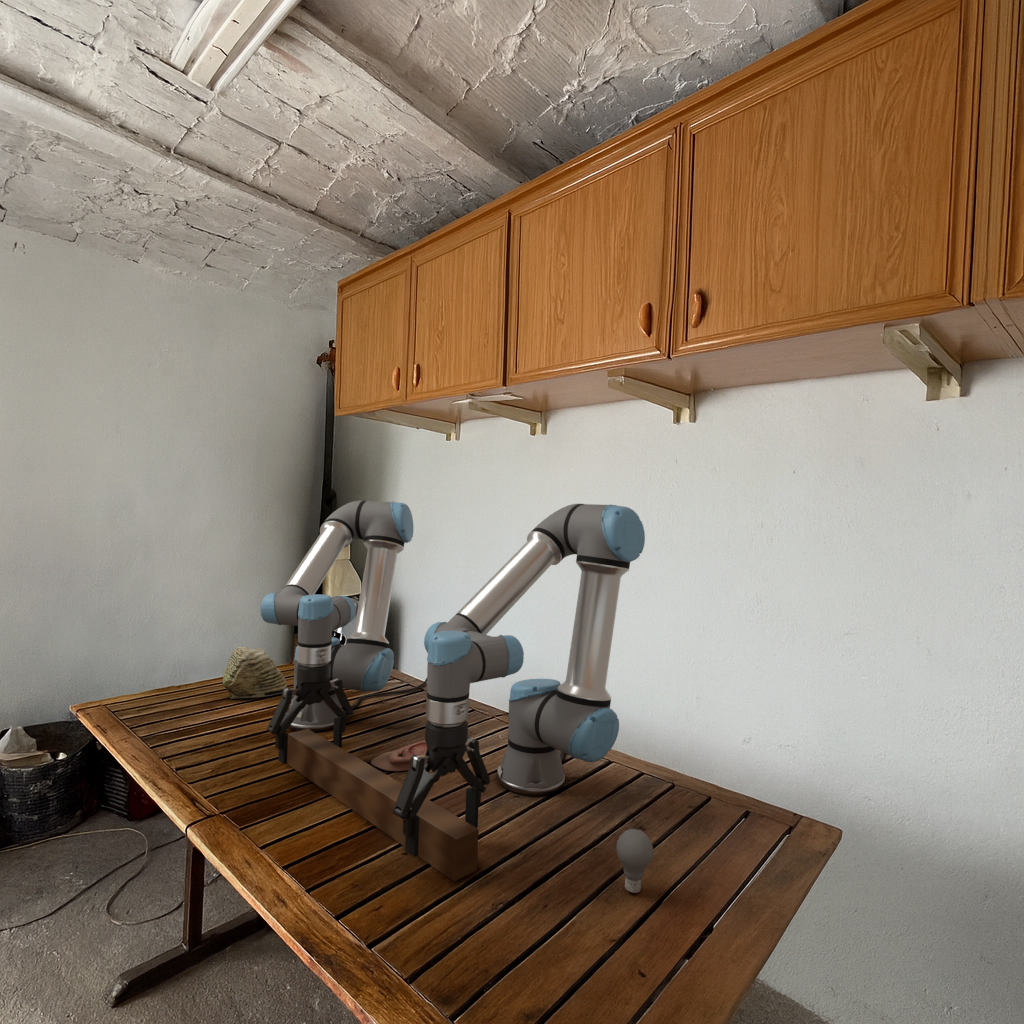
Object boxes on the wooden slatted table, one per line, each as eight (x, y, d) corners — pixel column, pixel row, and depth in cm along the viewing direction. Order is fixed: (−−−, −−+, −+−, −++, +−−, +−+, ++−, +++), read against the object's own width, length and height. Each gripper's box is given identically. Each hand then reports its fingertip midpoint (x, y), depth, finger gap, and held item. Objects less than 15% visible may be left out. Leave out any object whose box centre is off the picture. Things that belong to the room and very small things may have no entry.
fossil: (218, 695, 195) (220, 647, 195) (278, 685, 208) (279, 640, 207) (228, 703, 189) (230, 653, 188) (289, 692, 201) (290, 645, 201)
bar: (286, 764, 149) (288, 733, 149) (307, 758, 153) (308, 728, 152) (454, 881, 106) (456, 839, 106) (476, 870, 110) (478, 829, 110)
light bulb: (610, 879, 108) (613, 822, 108) (644, 879, 109) (647, 822, 109) (619, 902, 102) (622, 840, 102) (655, 901, 103) (658, 840, 103)
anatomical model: (365, 751, 148) (384, 733, 160) (364, 767, 148) (384, 749, 160) (419, 758, 146) (435, 740, 157) (418, 775, 146) (434, 756, 157)
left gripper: (268, 675, 134) (265, 774, 135) (369, 657, 152) (366, 745, 153) (253, 668, 140) (250, 763, 140) (353, 651, 157) (350, 736, 158)
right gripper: (401, 744, 101) (396, 875, 101) (511, 710, 118) (507, 822, 119) (374, 730, 106) (370, 855, 106) (484, 700, 124) (480, 808, 124)
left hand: (310, 754), depth 146 cm, fingers open, 13 cm apart
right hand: (442, 838), depth 113 cm, fingers open, 13 cm apart
